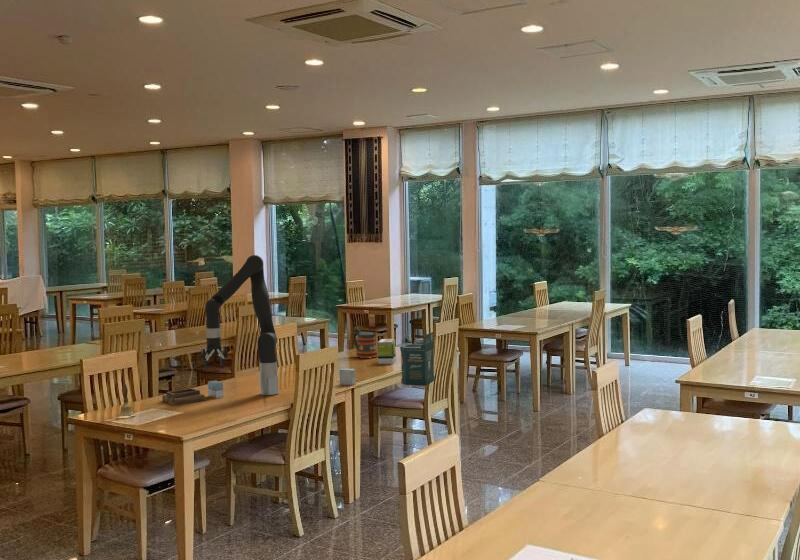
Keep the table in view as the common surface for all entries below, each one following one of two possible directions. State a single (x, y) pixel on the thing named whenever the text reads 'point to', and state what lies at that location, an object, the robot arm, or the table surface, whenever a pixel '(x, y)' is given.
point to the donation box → (418, 362)
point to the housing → (215, 389)
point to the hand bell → (125, 403)
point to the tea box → (386, 351)
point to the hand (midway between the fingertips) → (214, 366)
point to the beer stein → (365, 344)
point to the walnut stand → (183, 396)
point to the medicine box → (347, 377)
